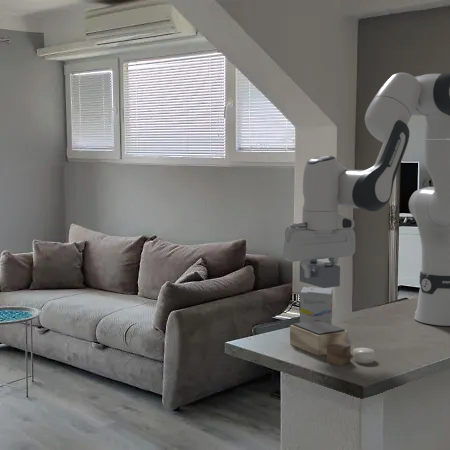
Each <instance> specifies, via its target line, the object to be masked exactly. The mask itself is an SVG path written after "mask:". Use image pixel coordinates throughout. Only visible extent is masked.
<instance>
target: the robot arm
mask: <svg viewBox="0 0 450 450" xmlns="http://www.w3.org/2000/svg"><path fill="white" fill-rule="evenodd" d="M413 116H424V117H425V120H426V121H425V124H424V125H425V126H424V145H423V146H424V149H423V150H424V153H423V155H424V156H423V161H424V162H423V165H424V169H425V170H426V172H427V173H428V174H429V176H430V177H431V182H432V185H433V186H427V187H426V186H425V187H422V188H419V189H417V190H415V191H414V192H413V193H412V194H411V196H410V197H409V200H408V209H409V213H410V214H411V216H412V217H413V218H414V220H415V222H416V226H417V229H418V232H419V236H420V244H421V271H420V272H419V285H420V288H419V291H418V296H417V302H416V303H417V305H416V310H415V311H414V317H413V318H414V320H416V321H417V322H420V323H424V324H427V325H433V326H442V327H443V326H444V327H446V326H447V327H449V326H450V72H443V73H426V74H422V75H417V76H416V75H415V76H414V75H412V74H411V73H408V72H397V73H394V74H392V75H391V76H390V77H389V78H388V79H387V80H386V81H385V82H384V83H383V84H382V86H381V88H379V90H378V92H377V93H376V94H375V96H374V97H373V99H372V100H371V102H370V103H369V105H368V107H367V110H366V111H365V115H364V124H365V127H366V130H367V131H368V133H370V134H371V136H372V137H374V138H375V139H376V140H378V141H379V142H381V143H382V145H381V148H380V150H379V153H378V156H377V158H376V160H375V163H374V164H373V166H371V167H369V168H366V169H349V168H348V167H346V166H344V165H342V164H341V163H340V162H339V161H338V160H337V158H336V157H335V156H332V155H323V156H316V157H312V158H310V159H309V160H307V161H306V163H305V166H304V169H303V170H304V171H303V177H302V195H303V206H302V217H301V218H302V220H301V221H302V222H298V223H290V224H289V225H288V226H287V227H286V228H285V229H284V242H283V251H282V256H283V258H284V259H285V261H288V262H291V263H294V262H301V265H302V267H303V269H304V270H305V277H306V278H312V277H313V271H312V270H310V268H309V265H308V264H310V260H316V259H317V260H325V259H328V261H329V262H330V263H331V264H333V265H337V266H338V262H339V258H346V257H352V256H354V254H355V253H356V232H355V230H354V227H355V223H356V222H355V219H352V218H350V217H346V216H343V215H339V207H342V208H343V207H345V208H350V209H361V210H364V211H367V212H377V211H380V210H382V209H384V207H385V206H386V205H388V202H389V201H390V199H391V197H392V194H393V188H394V183H395V179H396V176H397V174H398V171H399V168H400V165H401V163H402V161H403V157H404V155H405V152H406V150H407V147H408V143H409V140H410V129H409V125H408V124H409V122H410V119H411V117H413Z"/></svg>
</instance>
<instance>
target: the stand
mask: <svg viewBox="0 0 450 450" xmlns="http://www.w3.org/2000/svg"><path fill="white" fill-rule="evenodd" d="M289 329H290V330H289V344H290V346H293V347H296V348H298V347H299V349H300V350H304V351H305V350H306V352H308V353H310V354H313V355H314V356H317V357H320V356H327V346H328V345H331V344H333V343H341V344H346V345H348V330H346V329H344V328H342V327H339V326H336V325H333V324H332V325H331V324H328V323H325V322H322V321H319V320H315V321H308V322H301V323H300V322H296V323H292V324H290V325H289Z"/></svg>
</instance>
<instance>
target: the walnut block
mask: <svg viewBox="0 0 450 450" xmlns="http://www.w3.org/2000/svg"><path fill="white" fill-rule="evenodd" d="M351 350H352V349H351V345H350V344H347V345H346V344H341V343H333V344H331V345H328V346H327V355H326V363H328V364H334V365H338V366H343V365H346V364H348V363H351Z"/></svg>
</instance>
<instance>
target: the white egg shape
mask: <svg viewBox="0 0 450 450" xmlns="http://www.w3.org/2000/svg"><path fill="white" fill-rule="evenodd" d="M352 351H353V354H352V360H353V362H356V363H357V364H364V365H365V364H373V363H374V362H375V350H374V349H372V348H370V347H356V348H353V349H352Z"/></svg>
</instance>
